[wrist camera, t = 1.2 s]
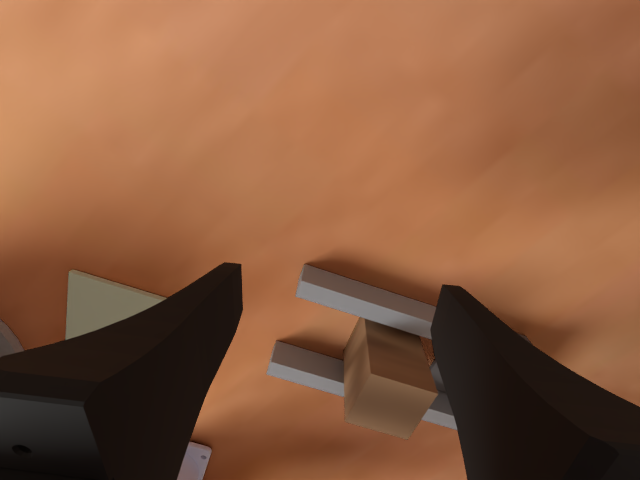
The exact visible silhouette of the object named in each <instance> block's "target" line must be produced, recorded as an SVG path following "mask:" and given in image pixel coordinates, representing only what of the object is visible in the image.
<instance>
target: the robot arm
mask: <svg viewBox="0 0 640 480" xmlns="http://www.w3.org/2000/svg"><path fill="white" fill-rule="evenodd" d="M242 311H243V302H242V276H241V264H235V263H225V262H224V263H223V264H221V265H219V266H218V267H216V268H215V269H213V270H212V271H210V272H209V273H207V274H206V275H204V276H203V277H201V278H199V279H198V280H196V281H195V282H193V283H192V284H190V285H189V286H187V287H185V288H184V289H182V290H180V291H179V292H177V293H175V294H173V295H172V296H170V297H168V298H167V299H165V300H163V301H161V302H159V303H158V304H156V305H154V306H152V307H150V308H148V309H146V310H144V311H141V312H139V313H137V314H135V315H133V316H131V317H128V318H126V319H123V320H121V321H118V322H116V323H113V324H111V325H108V326H105V327H103V328H100V329H98V330H95V331H92V332H89V333H86V334H83V335H80V336H77V337H74V338H70V339H67V340H64V341H60V342H57V343H53V344H50V345H46V346H42V347H38V348H34V349H30V350H26V351H22V352H17V353H13V354H9V355H4V356H1V357H0V480H203V477H204V474H205V470H206V467H207V464H208V461H209V458H210V455H211V452H212V450H211V448H210V447H208V446H204V445H201V444H197V443H193V442H189V441H190V438H191V435H192V433H193V430H194V427H195V424H196V421H197V418H198V416H199V413H200V410H201V407H202V405H203V402H204V399H205V397H206V394H207V392H208V390H209V387H210V385H211V383H212V381H213V379H214V377H215V375H216V373H217V371H218V369H219V367H220V364H221V362H222V360H223V358H224V356H225V354H226V352H227V350H228V348H229V346H230V344H231V342H232V339H233V337H234V335H235V333H236V330H237V327H238V324H239V321H240V317H241V314H242ZM430 332H431V338H432V345H433V350H434V355H435V359H436V362H437V365H438V368H439V372H440V375H441V378H442V381H443V384H444V387H445V390H446V393H447V397H448V400H449V403H450V406H451V409H452V412H453V415H454V419H455V422H456V426H457V430H458V435H459V439H460V444H461V449H462V454H463V458H464V464H465V469H466V474H467V480H640V407H639V406H637V405H635V404H633V403H631V402H629V401H626V400H624V399H622V398H620V397H618V396H616V395H615V394H613V393H611V392H609V391H607V390H605V389H603V388H601V387H599V386H598V385H596V384H594V383H592V382H591V381H589V380H587V379H585V378H584V377H582V376H580V375H578V374H576V373H575V372H573V371H571V370H570V369H568V368H567V367H565V366H563V365H562V364H560V363H559V362H557V361H556V360H554V359H553V358H551V357H549V356H548V355H546V354H545V353H543V352H542V351H540V350H539V349H538V348H536V347H535V346H533V345H532V344H531V343H529V342H528V341H527V340H525V339H524V338H523V337H521V336H520V335H519V334H517V333H516V332H515V331H513V330H512V329H511V328H510V327H508V326H507V325H506V324H505V323H503V322H502V321H501V320H500V319H499V318H497V317H496V316H495V315H494V314H493V313H492V312H490V311H489V310H488V309H487V308H486V307H485V306H483V305H482V304H481V303H480V302H479V301H478V300H476V299H475V298H474V297H473V296H472V295H471V294H469V293H468V292H467V291H466V290H465V289H463V288H462V287H460V286H453V285H442V288H441V292H440V296H439V299H438V303H437V307H436V310H435V314H434V317H433V321H432V325H431V328H430Z"/></svg>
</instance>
